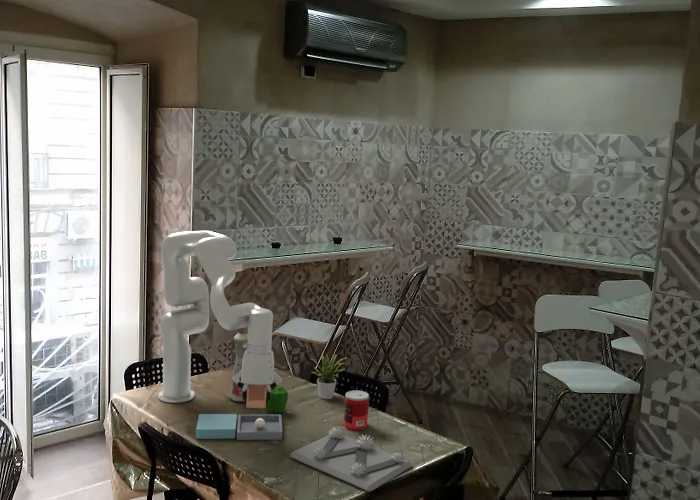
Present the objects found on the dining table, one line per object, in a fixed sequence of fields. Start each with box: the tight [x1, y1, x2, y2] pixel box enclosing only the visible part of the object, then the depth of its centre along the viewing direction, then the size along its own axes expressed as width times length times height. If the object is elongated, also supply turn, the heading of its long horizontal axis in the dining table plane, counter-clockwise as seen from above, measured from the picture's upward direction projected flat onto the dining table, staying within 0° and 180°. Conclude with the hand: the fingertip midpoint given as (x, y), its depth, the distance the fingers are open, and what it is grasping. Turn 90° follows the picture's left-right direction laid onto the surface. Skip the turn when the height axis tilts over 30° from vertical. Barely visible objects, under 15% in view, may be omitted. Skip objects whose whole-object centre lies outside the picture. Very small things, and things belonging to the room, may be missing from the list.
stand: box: [195, 413, 238, 440], centre depth 213 cm, size 12×12×3 cm
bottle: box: [229, 327, 248, 403], centre depth 239 cm, size 9×9×28 cm
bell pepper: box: [265, 383, 289, 414], centre depth 231 cm, size 8×8×10 cm
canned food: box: [343, 390, 370, 432], centre depth 221 cm, size 8×8×11 cm
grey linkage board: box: [289, 426, 413, 493], centre depth 196 cm, size 30×22×7 cm
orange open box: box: [245, 384, 267, 409], centre depth 213 cm, size 6×6×6 cm
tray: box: [236, 413, 283, 441], centre depth 215 cm, size 14×14×2 cm
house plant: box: [309, 352, 347, 400], centre depth 245 cm, size 14×14×16 cm
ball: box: [255, 418, 265, 428], centre depth 215 cm, size 3×3×3 cm
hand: (256, 401), depth 214 cm, fingers closed on orange open box, 6 cm apart
